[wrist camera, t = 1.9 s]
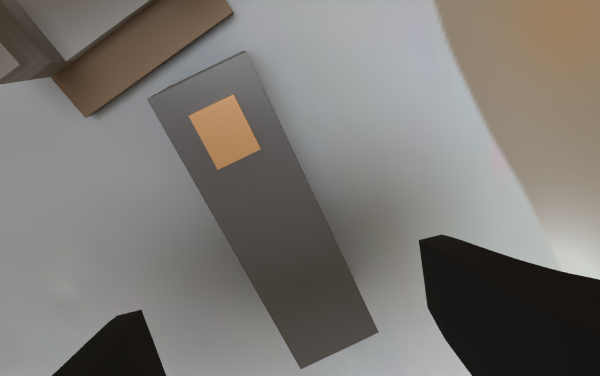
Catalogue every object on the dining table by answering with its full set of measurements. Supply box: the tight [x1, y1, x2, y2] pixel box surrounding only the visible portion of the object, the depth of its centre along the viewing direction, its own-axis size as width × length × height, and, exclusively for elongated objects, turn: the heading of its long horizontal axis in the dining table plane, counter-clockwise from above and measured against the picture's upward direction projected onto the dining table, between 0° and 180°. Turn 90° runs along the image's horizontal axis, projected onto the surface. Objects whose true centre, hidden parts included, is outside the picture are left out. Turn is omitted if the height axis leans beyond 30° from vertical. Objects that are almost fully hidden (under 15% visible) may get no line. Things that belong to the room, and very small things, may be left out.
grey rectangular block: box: [147, 51, 378, 369], centre depth 18 cm, size 12×4×5 cm, turn 25°
